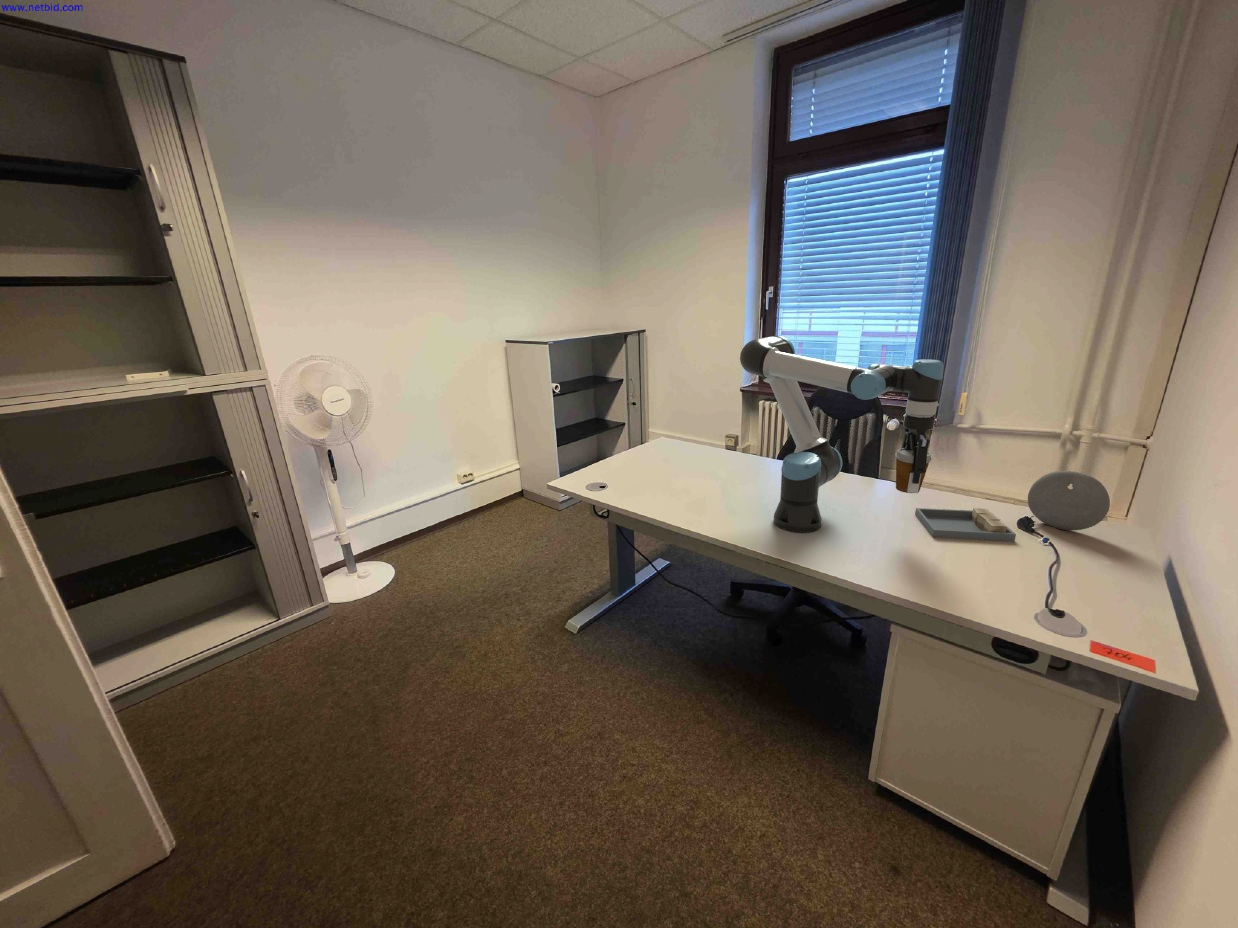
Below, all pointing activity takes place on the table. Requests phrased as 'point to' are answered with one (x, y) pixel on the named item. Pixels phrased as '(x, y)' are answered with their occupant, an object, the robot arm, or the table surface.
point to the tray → (957, 525)
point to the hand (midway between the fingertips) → (907, 486)
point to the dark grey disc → (1068, 500)
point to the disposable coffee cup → (906, 468)
